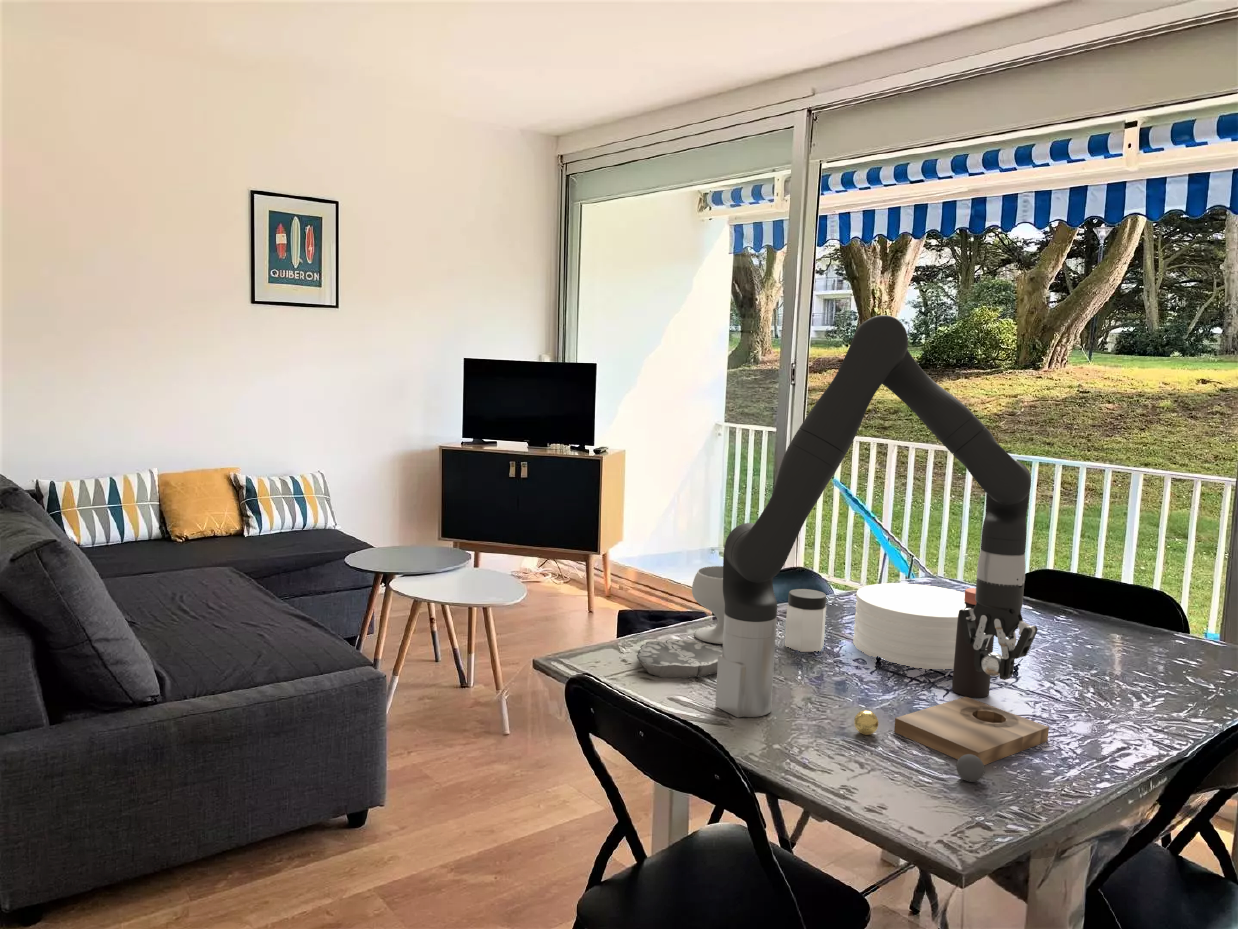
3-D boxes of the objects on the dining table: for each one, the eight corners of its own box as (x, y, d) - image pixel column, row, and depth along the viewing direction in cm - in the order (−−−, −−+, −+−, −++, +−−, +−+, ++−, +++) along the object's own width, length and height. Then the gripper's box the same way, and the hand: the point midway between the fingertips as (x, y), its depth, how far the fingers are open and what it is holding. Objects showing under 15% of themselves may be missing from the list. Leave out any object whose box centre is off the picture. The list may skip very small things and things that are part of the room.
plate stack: (853, 662, 195) (857, 609, 193) (852, 625, 222) (856, 578, 220) (994, 677, 188) (999, 623, 187) (976, 638, 215) (980, 590, 214)
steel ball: (996, 681, 157) (998, 658, 156) (975, 674, 160) (977, 651, 159) (1010, 676, 159) (1011, 654, 158) (989, 670, 162) (990, 648, 162)
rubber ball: (973, 789, 138) (975, 763, 137) (949, 778, 141) (951, 753, 141) (988, 782, 140) (991, 757, 140) (965, 772, 143) (967, 747, 143)
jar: (832, 648, 202) (835, 595, 201) (808, 655, 197) (811, 600, 196) (800, 638, 209) (803, 586, 208) (776, 644, 204) (779, 591, 203)
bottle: (991, 690, 180) (1000, 590, 178) (985, 701, 174) (994, 597, 172) (955, 683, 183) (963, 585, 181) (948, 693, 178) (956, 592, 175)
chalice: (703, 649, 199) (706, 581, 197) (680, 629, 212) (683, 566, 211) (762, 645, 203) (766, 578, 201) (737, 626, 216) (740, 564, 215)
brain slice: (702, 649, 200) (703, 636, 199) (742, 675, 184) (742, 661, 184) (618, 657, 192) (619, 644, 192) (652, 686, 177) (653, 670, 176)
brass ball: (867, 740, 154) (868, 717, 154) (848, 732, 157) (849, 709, 157) (882, 735, 156) (884, 713, 156) (864, 727, 160) (865, 705, 159)
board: (977, 768, 145) (978, 752, 145) (894, 732, 158) (895, 718, 158) (1047, 741, 157) (1048, 727, 156) (964, 709, 170) (965, 696, 169)
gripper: (950, 571, 161) (943, 666, 163) (1027, 589, 149) (1018, 692, 151) (976, 566, 165) (969, 659, 167) (1052, 583, 154) (1043, 683, 156)
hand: (992, 674), depth 159 cm, fingers closed on steel ball, 4 cm apart
